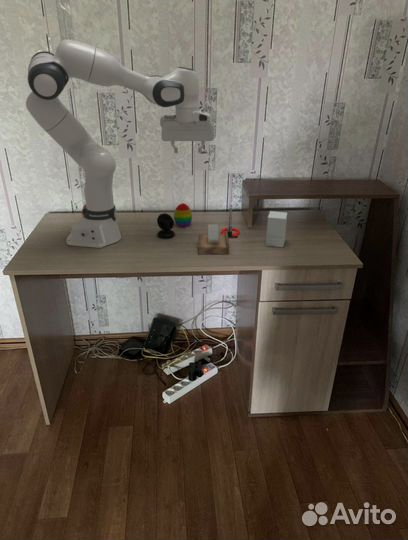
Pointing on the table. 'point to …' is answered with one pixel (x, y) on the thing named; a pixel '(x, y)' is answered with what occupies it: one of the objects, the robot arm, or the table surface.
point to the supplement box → (276, 229)
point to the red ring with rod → (230, 227)
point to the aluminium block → (213, 233)
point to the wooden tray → (214, 245)
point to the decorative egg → (182, 215)
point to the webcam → (165, 226)
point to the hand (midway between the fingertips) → (188, 152)
